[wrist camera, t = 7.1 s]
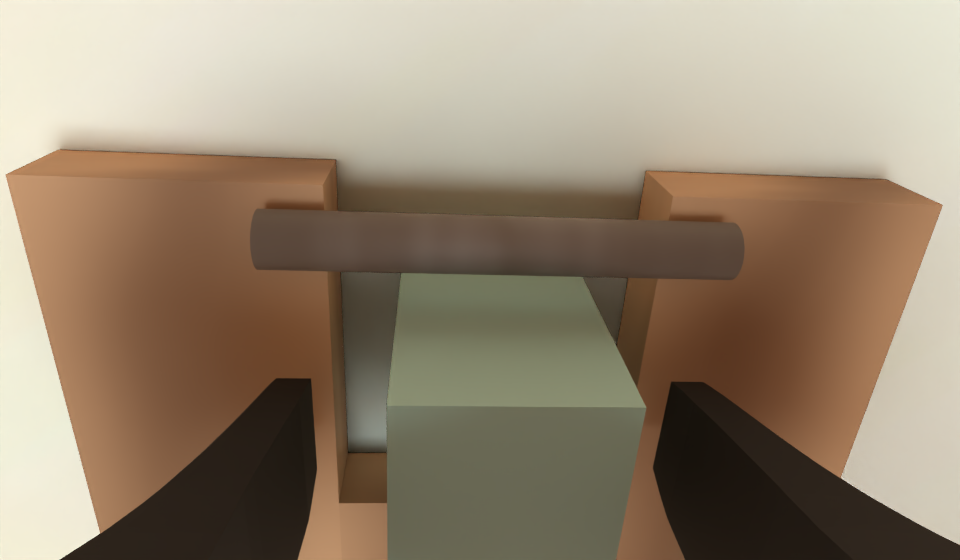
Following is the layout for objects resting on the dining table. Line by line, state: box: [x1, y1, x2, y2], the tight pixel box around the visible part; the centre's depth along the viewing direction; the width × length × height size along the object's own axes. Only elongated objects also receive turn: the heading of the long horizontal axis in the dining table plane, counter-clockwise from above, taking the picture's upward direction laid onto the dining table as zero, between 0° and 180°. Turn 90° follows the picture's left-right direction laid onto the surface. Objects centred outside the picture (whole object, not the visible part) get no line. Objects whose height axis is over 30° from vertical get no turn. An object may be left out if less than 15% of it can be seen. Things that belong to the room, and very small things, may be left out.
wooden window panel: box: [6, 150, 943, 560], centre depth 13 cm, size 16×10×3 cm, turn 87°
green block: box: [387, 273, 646, 560], centre depth 12 cm, size 4×4×5 cm
